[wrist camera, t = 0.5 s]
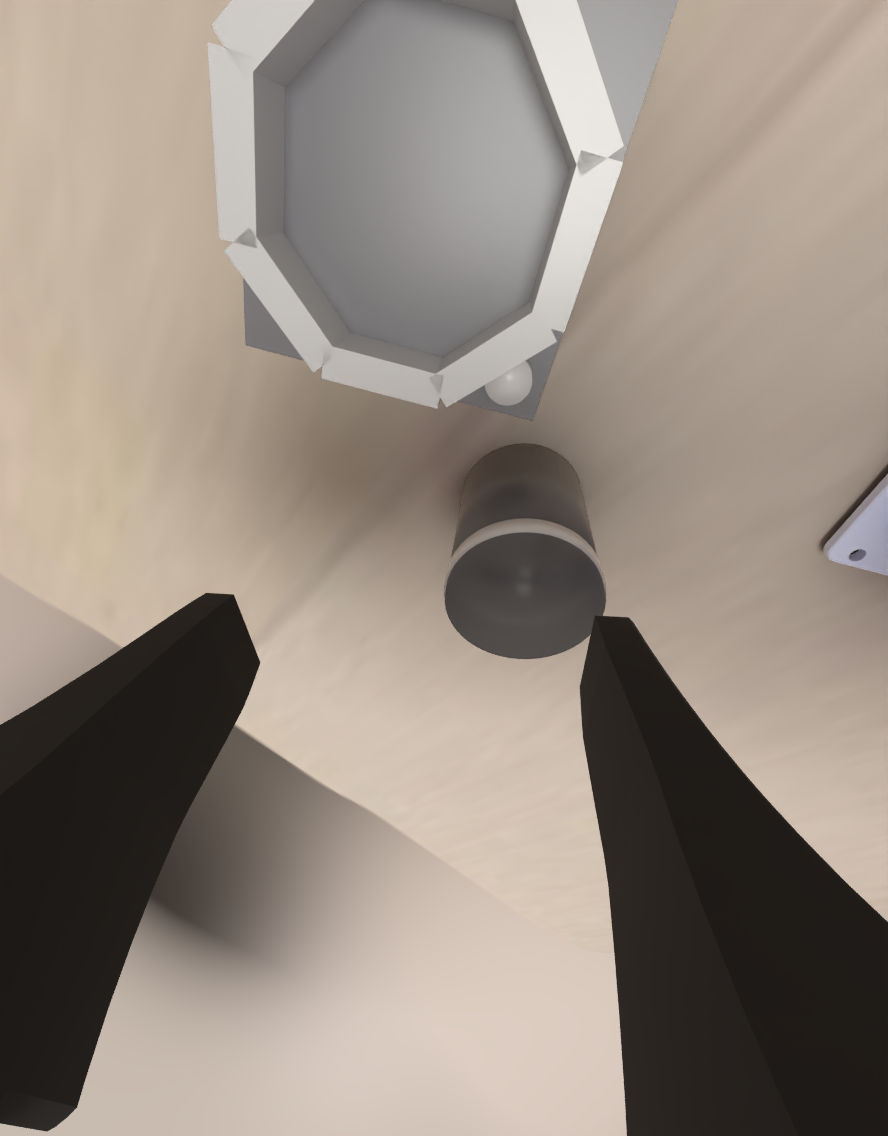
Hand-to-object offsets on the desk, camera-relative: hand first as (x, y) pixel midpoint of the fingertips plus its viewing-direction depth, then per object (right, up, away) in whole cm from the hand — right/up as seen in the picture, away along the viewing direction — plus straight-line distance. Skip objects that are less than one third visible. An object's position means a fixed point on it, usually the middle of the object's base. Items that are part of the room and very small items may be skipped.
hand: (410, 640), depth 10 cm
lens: (+4, +4, +8) cm, 10 cm away
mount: (+1, +11, +3) cm, 12 cm away
